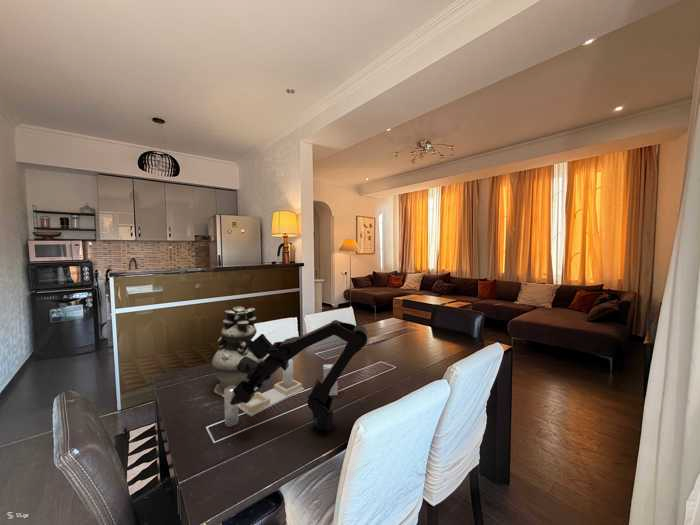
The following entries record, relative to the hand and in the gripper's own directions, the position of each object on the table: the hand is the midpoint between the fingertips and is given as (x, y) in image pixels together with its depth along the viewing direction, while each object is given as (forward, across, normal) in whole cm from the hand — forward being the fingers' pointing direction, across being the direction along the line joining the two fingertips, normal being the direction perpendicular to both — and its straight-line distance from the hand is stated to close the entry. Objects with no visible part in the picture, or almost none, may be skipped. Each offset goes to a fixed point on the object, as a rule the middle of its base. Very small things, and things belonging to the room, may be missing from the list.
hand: (237, 396), depth 99 cm
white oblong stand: (+2, -17, +11) cm, 21 cm away
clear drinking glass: (+8, 0, +5) cm, 10 cm away
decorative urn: (+16, -26, -2) cm, 30 cm away
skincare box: (-14, -23, +28) cm, 39 cm away
